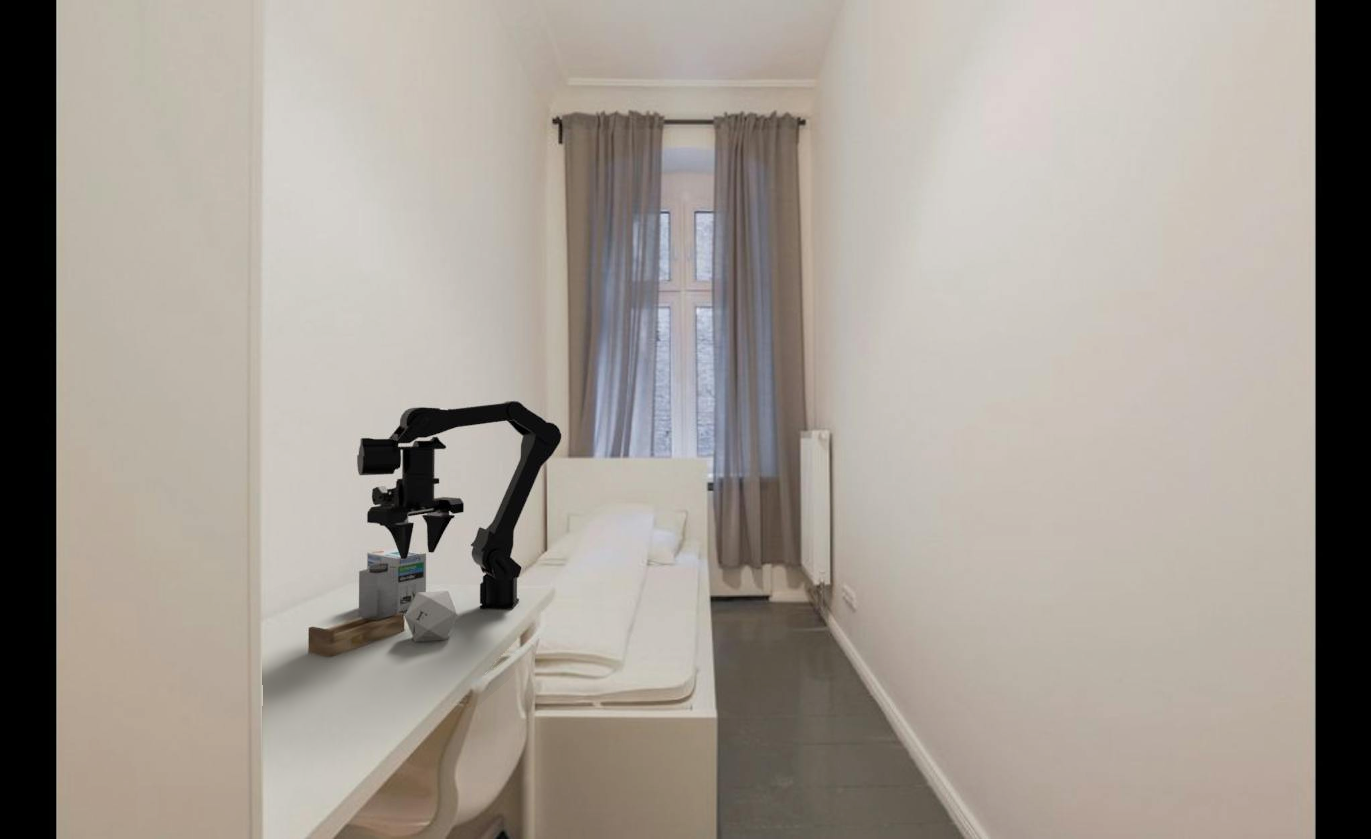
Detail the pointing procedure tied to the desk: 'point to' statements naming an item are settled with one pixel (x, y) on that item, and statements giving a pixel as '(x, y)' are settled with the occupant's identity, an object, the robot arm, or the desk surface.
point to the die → (431, 616)
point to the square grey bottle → (378, 592)
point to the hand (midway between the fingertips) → (417, 555)
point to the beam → (352, 634)
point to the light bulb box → (404, 573)
